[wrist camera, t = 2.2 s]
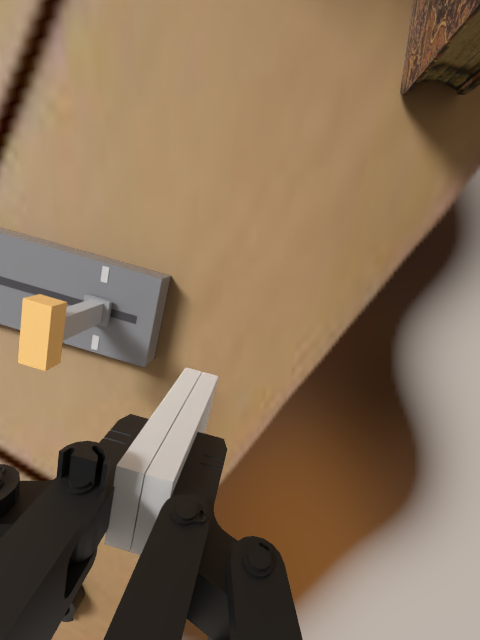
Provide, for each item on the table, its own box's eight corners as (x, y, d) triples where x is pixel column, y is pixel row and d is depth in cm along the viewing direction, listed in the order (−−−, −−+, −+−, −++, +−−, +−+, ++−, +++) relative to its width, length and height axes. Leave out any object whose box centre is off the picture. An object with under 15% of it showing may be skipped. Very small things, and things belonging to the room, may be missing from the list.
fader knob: (114, 288, 36) (54, 307, 27) (106, 337, 38) (47, 371, 28) (89, 281, 37) (20, 297, 27) (82, 330, 38) (15, 362, 29)
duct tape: (37, 591, 56) (24, 609, 53) (63, 557, 53) (50, 575, 50) (74, 615, 56) (64, 635, 53) (102, 584, 53) (92, 603, 51)
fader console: (171, 275, 39) (161, 278, 36) (154, 358, 42) (144, 367, 39) (-44, 215, 40) (-69, 213, 37) (-45, 299, 43) (-69, 303, 40)
